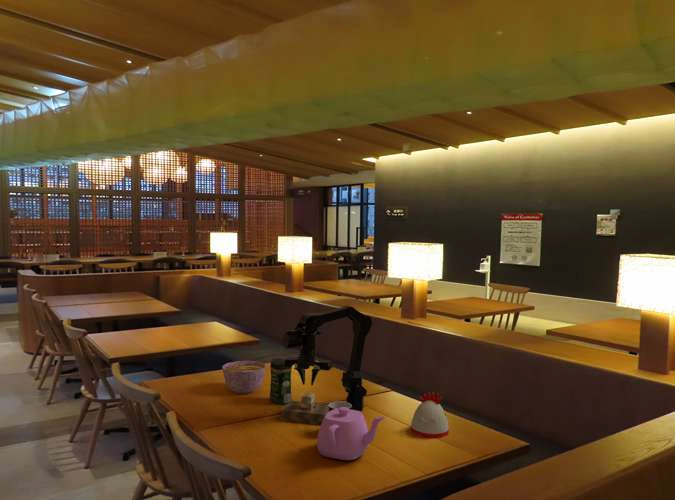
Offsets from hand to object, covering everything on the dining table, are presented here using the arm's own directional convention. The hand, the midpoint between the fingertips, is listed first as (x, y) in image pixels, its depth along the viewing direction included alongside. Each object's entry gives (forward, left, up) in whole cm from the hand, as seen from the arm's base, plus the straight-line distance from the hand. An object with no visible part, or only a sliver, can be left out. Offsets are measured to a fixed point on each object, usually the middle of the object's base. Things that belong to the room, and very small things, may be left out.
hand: (308, 385), depth 211 cm
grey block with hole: (0, 0, -13) cm, 13 cm away
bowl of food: (+38, -24, -13) cm, 47 cm away
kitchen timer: (-48, 0, -13) cm, 50 cm away
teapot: (-22, +28, -13) cm, 38 cm away
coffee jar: (+17, -15, -13) cm, 26 cm away
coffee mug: (-17, +10, -13) cm, 24 cm away
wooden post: (0, 0, -13) cm, 13 cm away
